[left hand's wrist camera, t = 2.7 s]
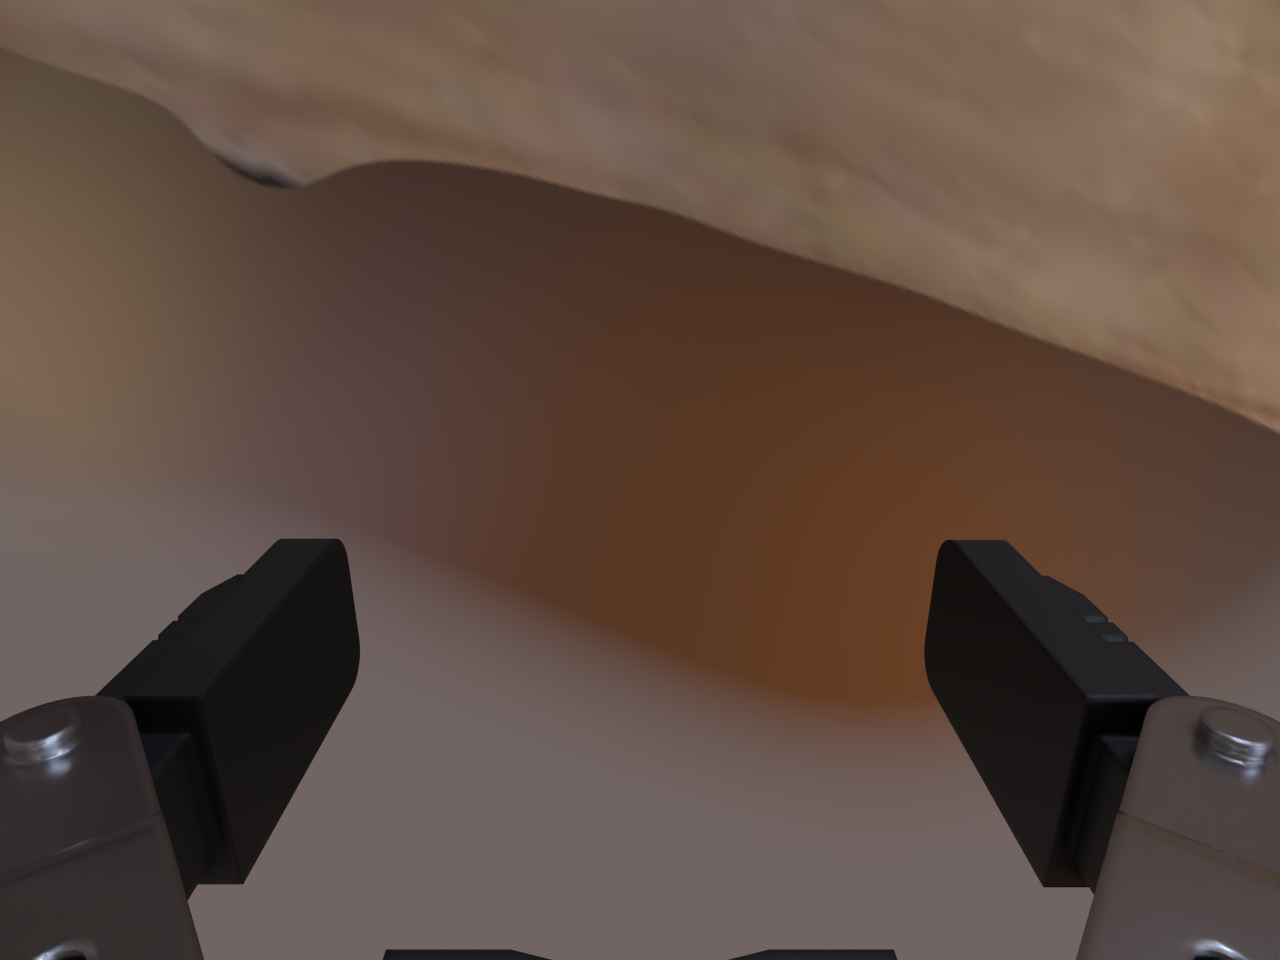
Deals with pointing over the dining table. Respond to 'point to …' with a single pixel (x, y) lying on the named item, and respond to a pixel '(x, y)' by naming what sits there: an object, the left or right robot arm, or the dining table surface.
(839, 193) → the dining table surface
